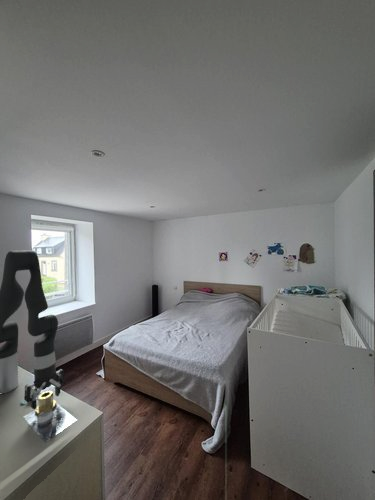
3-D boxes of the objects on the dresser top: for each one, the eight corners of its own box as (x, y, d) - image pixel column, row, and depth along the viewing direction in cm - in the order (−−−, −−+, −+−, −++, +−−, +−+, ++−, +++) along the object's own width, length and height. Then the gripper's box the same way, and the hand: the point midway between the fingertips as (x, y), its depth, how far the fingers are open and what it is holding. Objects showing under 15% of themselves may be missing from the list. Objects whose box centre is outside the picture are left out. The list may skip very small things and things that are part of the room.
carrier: (22, 419, 82) (22, 407, 82) (52, 402, 91) (52, 390, 91) (45, 445, 70) (45, 431, 70) (77, 422, 80) (76, 409, 80)
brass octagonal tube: (33, 411, 85) (32, 396, 85) (51, 400, 91) (51, 387, 91) (40, 418, 81) (39, 403, 81) (58, 406, 87) (58, 392, 87)
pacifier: (20, 402, 92) (20, 409, 88) (20, 388, 93) (20, 394, 88) (40, 394, 97) (41, 400, 92) (40, 381, 97) (41, 387, 93)
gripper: (58, 354, 94) (60, 388, 94) (20, 369, 82) (22, 409, 82) (66, 358, 90) (68, 394, 89) (28, 375, 78) (29, 417, 78)
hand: (46, 401), depth 86 cm, fingers open, 8 cm apart
